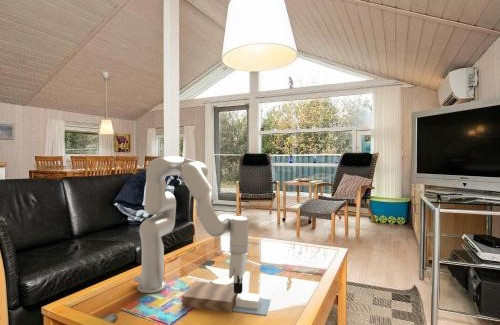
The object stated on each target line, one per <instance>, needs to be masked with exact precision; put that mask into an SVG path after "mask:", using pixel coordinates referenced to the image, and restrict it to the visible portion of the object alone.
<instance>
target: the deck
mask: <svg viewBox="0 0 500 325" xmlns="http://www.w3.org/2000/svg"><path fill="white" fill-rule="evenodd" d="M237 295H238V293H234V285H233V284H232V285H223V284H214V283H210V282H205V281H195V282H194V283H193V284H192V285H191V286H190V287H189V288H188V290H186V292H185V293H184V294H182V301H181V302H182V305H181V306H182V307H186V306H189V307H188V308H195V309H200V310H201V309H203V310H210V311H215V312H216V311H217V312H225V313H232V312H233V309H234V307H235V305H236V297H237Z"/></svg>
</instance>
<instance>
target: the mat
mask: <svg viewBox="0 0 500 325" xmlns="http://www.w3.org/2000/svg"><path fill="white" fill-rule="evenodd" d="M270 303H271V299H269V298H268V299H267V298H262V297H260V304H259V307H258V309H253V308H246V307H238V306H236V304H235V305H234V307H233V309H232V312H237V313H244V314H251V315H258V316H265V317H266V316H267V313H268V310H269V306H270Z"/></svg>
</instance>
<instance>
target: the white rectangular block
mask: <svg viewBox="0 0 500 325" xmlns="http://www.w3.org/2000/svg"><path fill="white" fill-rule="evenodd" d="M260 298H262V297H261V293H251V292H243V291H242V293H241V294H238V295H237V297H236V303H235V305H236V306H238V307H246V308H253V309H258V307H259V304H260Z"/></svg>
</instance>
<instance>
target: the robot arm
mask: <svg viewBox="0 0 500 325" xmlns="http://www.w3.org/2000/svg"><path fill="white" fill-rule="evenodd" d="M145 171H146V172H145V181H146V182H145V183H146V184H145V194H144V210H145V212H146V213H147V214H148V215H151V216H152V217H151V216H150V217H148V218H146V219H145V220H143V221H142V222H141V224H140V225H139V235H140V236H139V237H140V241H141V272H140V273H141V275H135V276H134V279H133V281H134V283H138V285H137V291H139V292H140V293H143V294H155V293H158V292H162V291H164V290H165V289H166V288H167V287H168V283H167V282H168V281H166V279H165V280H164V273H165V271H164V266H165V261H164V260H165V257H164V256H165V252H164V251H165V250H164V249H165V247H164V243H163V240H162V237H163V236H165V235H168V234H170V233H172V231H173V230H174V227H175V224H176V214H177V211H176V210H177V200H176V197H175V195H174V194H173V193H172V192H170V191H166V190H167V182H166V179H165V177H167V176H168V177H169V176H180V177H181V179H182V181H183V182H184V183H185V185H186V187H187V188H188V190H189V192H190V193H191V196H192V197H193V199H194V200H195V208H196V209H195V210H196V213H197V217H198V219H199V222H200V224H201V225H202V227H203V229H204V230H205V231H206V233H207V234H208V235H209V236H210V237H213V238H219V237H221V236H223V235H225V234H227V233H229V254H230V259H229V270H228V272H229V273H228V275H229V278H232V276H234V284H233V286H234V293H238V294H241V293H242V292H243V278H244V274H245V273H246V268H247V253H249V224H250V223H249V222H250V221H249V218H247V217H246V216H240V215H239V216H235V215H231V214H227V213H224V214H223V213H221V214H220V215H217V214H216V212H215V210H214V208H213V204H212V197H213V193H214V190H213V187H212V186H211V184H210V183H209V181H208V180H207V176H208V174H209V171H208V167H207V166H206V165H205V163H203V162H201V161H198V160H192V159H190V158H186V157H182V156H166V155H165V156H159V157H155V158H154V159H152V160H151V161H150V162H149V163H148V164H147V167H146V170H145Z"/></svg>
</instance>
